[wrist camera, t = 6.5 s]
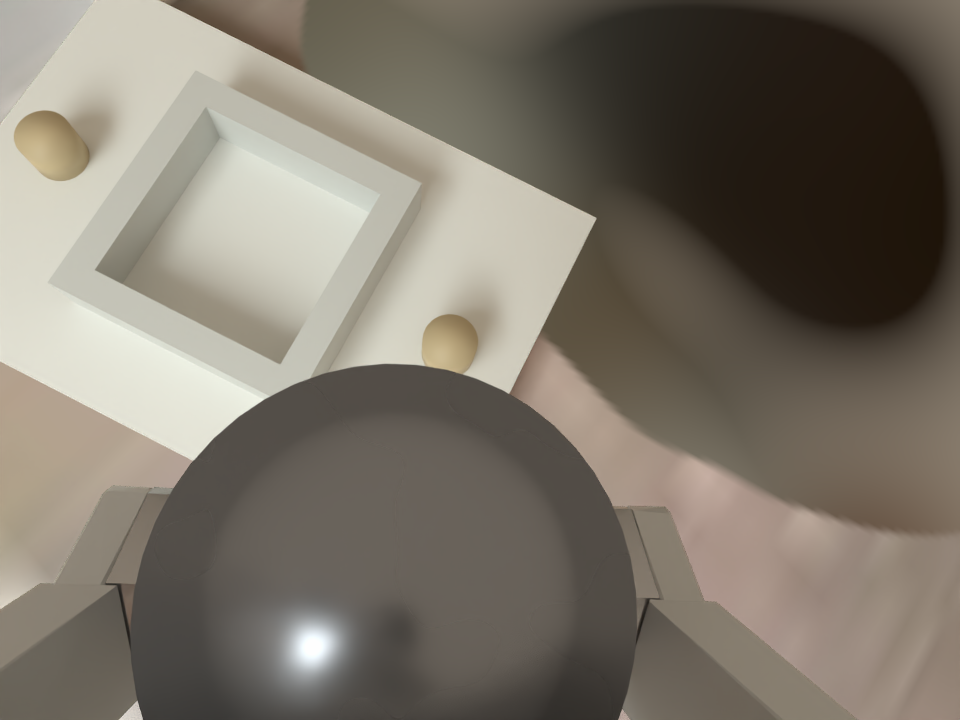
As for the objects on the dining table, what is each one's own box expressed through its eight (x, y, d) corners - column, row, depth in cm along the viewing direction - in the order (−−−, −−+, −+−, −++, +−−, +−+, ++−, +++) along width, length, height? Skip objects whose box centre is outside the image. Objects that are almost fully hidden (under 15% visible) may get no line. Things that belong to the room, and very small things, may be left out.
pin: (247, 623, 14) (22, 736, 6) (353, 433, 15) (297, 283, 7) (439, 724, 14) (504, 994, 6) (533, 527, 15) (709, 497, 7)
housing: (-101, 308, 27) (-174, 273, 23) (126, 4, 30) (91, -65, 27) (417, 575, 26) (419, 578, 23) (587, 234, 30) (610, 193, 26)
